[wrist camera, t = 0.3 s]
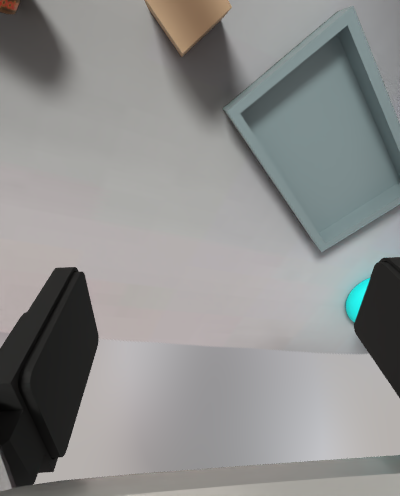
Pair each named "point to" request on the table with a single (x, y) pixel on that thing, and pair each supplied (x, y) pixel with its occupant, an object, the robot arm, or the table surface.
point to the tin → (9, 6)
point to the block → (187, 19)
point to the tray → (325, 131)
